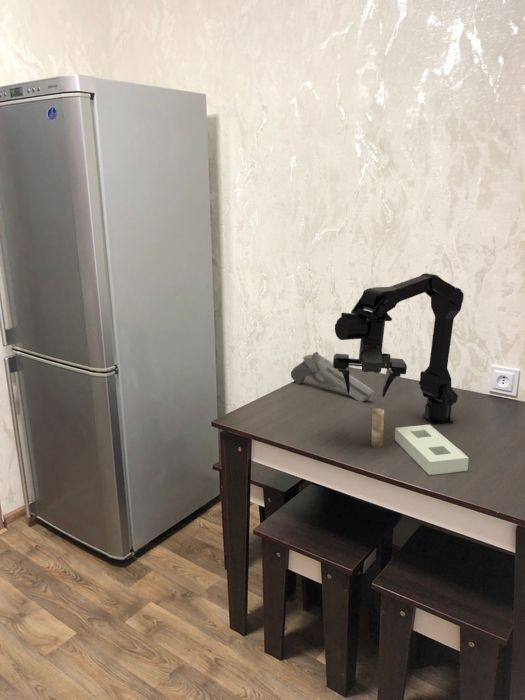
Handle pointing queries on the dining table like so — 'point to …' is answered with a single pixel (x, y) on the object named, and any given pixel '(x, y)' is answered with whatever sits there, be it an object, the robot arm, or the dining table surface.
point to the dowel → (377, 428)
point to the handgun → (329, 376)
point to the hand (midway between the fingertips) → (365, 394)
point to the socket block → (431, 449)
